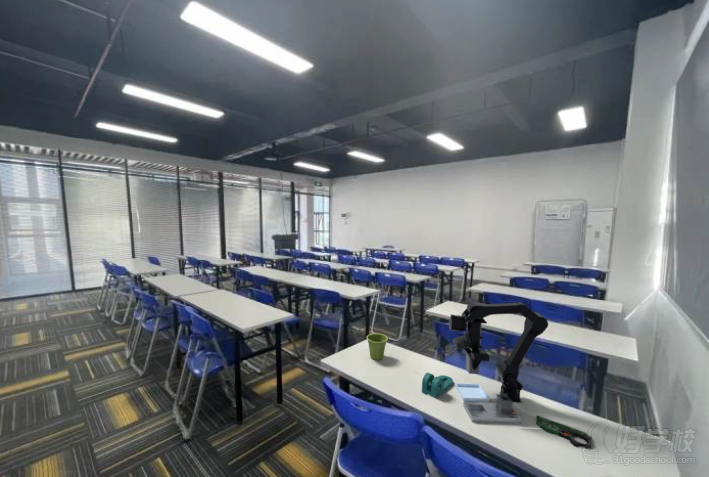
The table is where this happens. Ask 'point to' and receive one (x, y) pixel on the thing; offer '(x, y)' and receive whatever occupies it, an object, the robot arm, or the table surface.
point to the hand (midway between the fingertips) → (472, 366)
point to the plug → (470, 365)
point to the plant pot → (377, 345)
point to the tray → (471, 392)
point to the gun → (564, 432)
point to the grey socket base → (493, 411)
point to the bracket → (435, 384)
